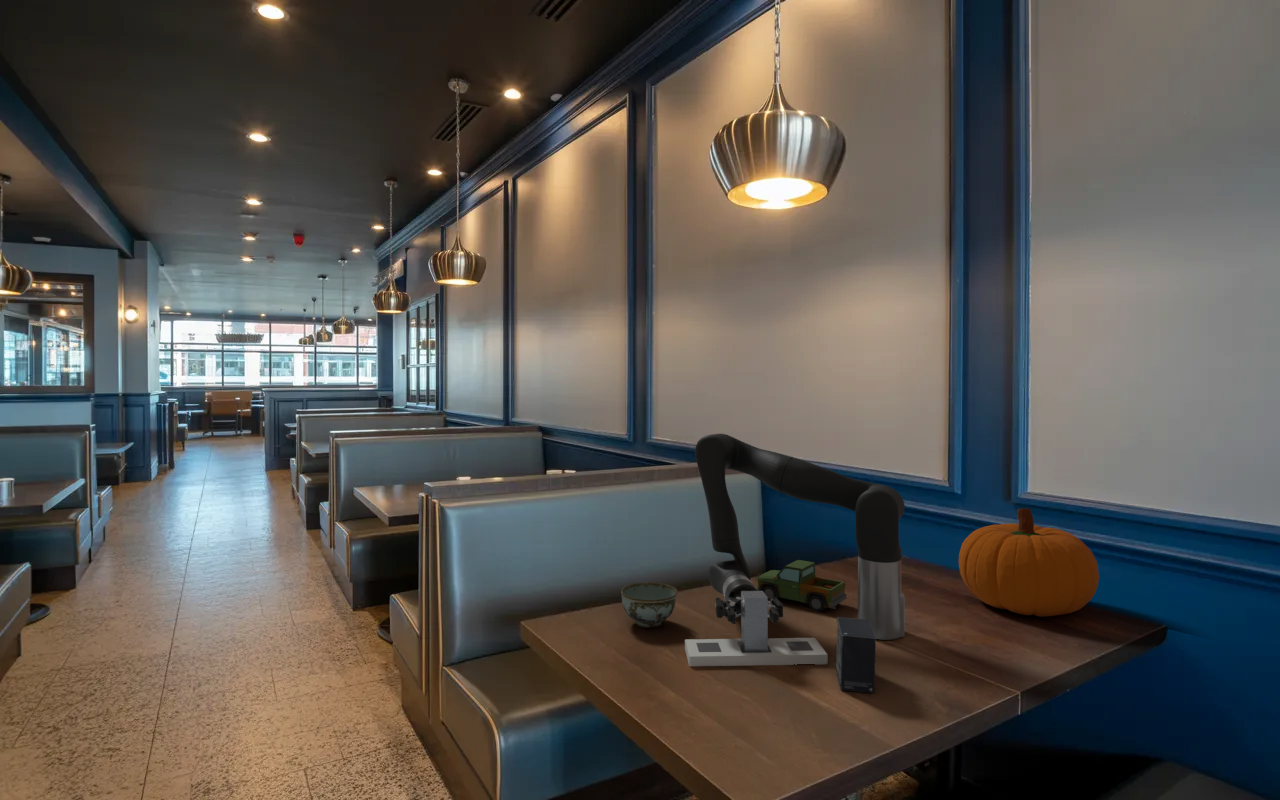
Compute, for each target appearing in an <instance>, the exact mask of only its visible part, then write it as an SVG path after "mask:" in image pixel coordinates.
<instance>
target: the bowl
mask: <svg viewBox="0 0 1280 800" xmlns="http://www.w3.org/2000/svg"><path fill="white" fill-rule="evenodd" d="M620 589H621V590H620V594H621V602H622V607H623V609H624V611H625V613H626V614H627V616H628V617H629V618H630V619H632V620H633V621H635V624H636V626H638V627H640V628H643V629H655V628H658V627H660V626H661V625H662V624H663V622H664V621H666V620H667V619H668V618H670V616H671V615H672V614H673V611H674V609H675V607H676V601H677V596H678V593H679V590H678V589H677V588H676V587H675V586H673V585H670V584H667V583H661V582H655V581H654V582H651V581H650V582H647V581H646V582H643V581H642V582H636V583H635V582H634V583H630V584H627V585H625V586H623V587H622V588H620Z"/></svg>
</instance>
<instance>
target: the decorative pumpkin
mask: <svg viewBox="0 0 1280 800" xmlns="http://www.w3.org/2000/svg"><path fill="white" fill-rule="evenodd" d="M1016 514H1017V519H1018V523H1001V524H991V525H986V526H983V527H980V528H978V529H975V530H974V531H972V532H971V533H970V534H969V535H968V536H967V537H966V538H965V539H964V540H963V542H962V543H961V547H960V550H959V554H958V567H959V574H960V576H961V578H962V579H961V580H962V581H963V583H964V584H965V586H966V587H967V588H968V589H969V591H970V592H971V593H972V594H973V595H974V596H975V597H976V598H977V599H978V600H979V601H981V602H983V603H984V604H986V605H988V606H991V607H993V608H997V609H1001V610H1008V611H1010V612H1012V613H1015V614H1019V615H1024V616H1033V615H1034V616H1036V617H1041V618H1043V617H1044V618H1045V617H1054V616H1063V615H1066V614H1068V615H1069V614H1072V613H1074V612H1077V611H1079V610H1081V609H1082V608H1083V607H1085V606H1086V605H1087V604H1089V602H1090V601H1091V600H1092V599H1093V597H1094V596H1095V594H1096V592H1097V590H1098V589H1097V588H1098V587H1099V581H1100V575H1099V564H1098V561H1097V559H1096V557H1095V555H1094V553H1093V552H1092V550H1091V549H1090V548H1089V546H1087V545H1086V544H1085V543H1084V542H1083V541H1082V540H1081V539H1080V538H1078V537H1077V536H1076V535H1074V534H1072V533H1070V532H1067V531H1065V530H1062V529H1060V528H1054V527H1046V526H1045V527H1043V526H1040V525H1035V523H1034V517H1033V514H1032V509H1031V508H1028V507H1027V508H1026V507H1023V508H1018V509H1017V512H1016Z"/></svg>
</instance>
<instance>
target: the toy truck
mask: <svg viewBox="0 0 1280 800" xmlns="http://www.w3.org/2000/svg"><path fill="white" fill-rule="evenodd" d="M756 580H757V586H755V588H756V589H757V591H763V592H764V593H765V595H766V596H767V598H768V601H771V598H772V597H775V598H777V599H779V598H781V599H785V600H791V601H795V602H796V601H797V602H800V603H804V604H808V606H809V608H810V609H811V610H812V611H813V612H816V611H817V613H820V612H822V611H825V609H833V610H836V609H837V607H836V606H837V605H838V604H840V603H842V602H844V601H845V600H847V594H846V593H845V589H846V583H845V581H841V580H836V579H833V578H832V579H830V578H827V577H826V578H825V577H821V576H816V562H812V561H808V560H801V559H797V560H794V561H793V562H790V563H789V564H787V565H784V567H782V569H781V570H779V569H778V570H776V569H773V570H772V569H771V570H768V571H767V572H764V573H762V574H760V575H759V576H758V577H757V579H756Z"/></svg>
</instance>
